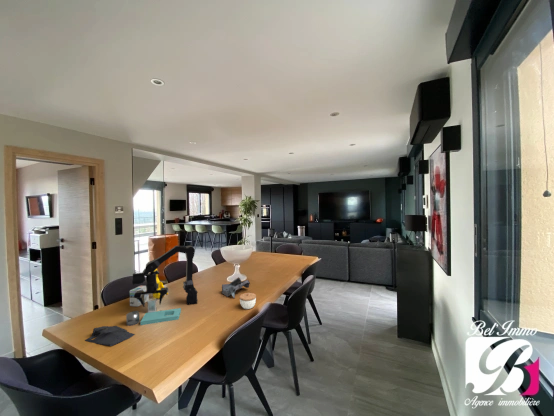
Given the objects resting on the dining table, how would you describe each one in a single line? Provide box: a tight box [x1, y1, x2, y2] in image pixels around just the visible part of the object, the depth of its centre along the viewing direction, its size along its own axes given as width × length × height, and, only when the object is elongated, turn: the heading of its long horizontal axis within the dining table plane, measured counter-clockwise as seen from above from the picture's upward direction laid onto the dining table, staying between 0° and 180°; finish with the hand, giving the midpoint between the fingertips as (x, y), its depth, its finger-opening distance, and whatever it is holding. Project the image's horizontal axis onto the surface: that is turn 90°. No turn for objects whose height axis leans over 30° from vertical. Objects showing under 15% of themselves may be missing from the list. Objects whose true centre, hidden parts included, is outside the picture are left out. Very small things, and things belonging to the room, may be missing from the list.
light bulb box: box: [129, 285, 150, 307], centre depth 160 cm, size 11×7×11 cm, turn 168°
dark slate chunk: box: [84, 325, 136, 347], centre depth 118 cm, size 15×22×5 cm
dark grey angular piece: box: [221, 277, 251, 299], centre depth 175 cm, size 18×20×9 cm
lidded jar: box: [239, 292, 257, 310], centre depth 148 cm, size 11×11×9 cm
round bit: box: [125, 310, 141, 327], centre depth 131 cm, size 6×6×6 cm
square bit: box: [147, 297, 157, 313], centre depth 146 cm, size 4×4×8 cm
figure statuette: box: [152, 268, 169, 300], centre depth 169 cm, size 18×8×22 cm, turn 62°
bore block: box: [139, 307, 182, 326], centre depth 137 cm, size 20×11×2 cm, turn 106°
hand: (152, 305), depth 146 cm, fingers open, 9 cm apart
